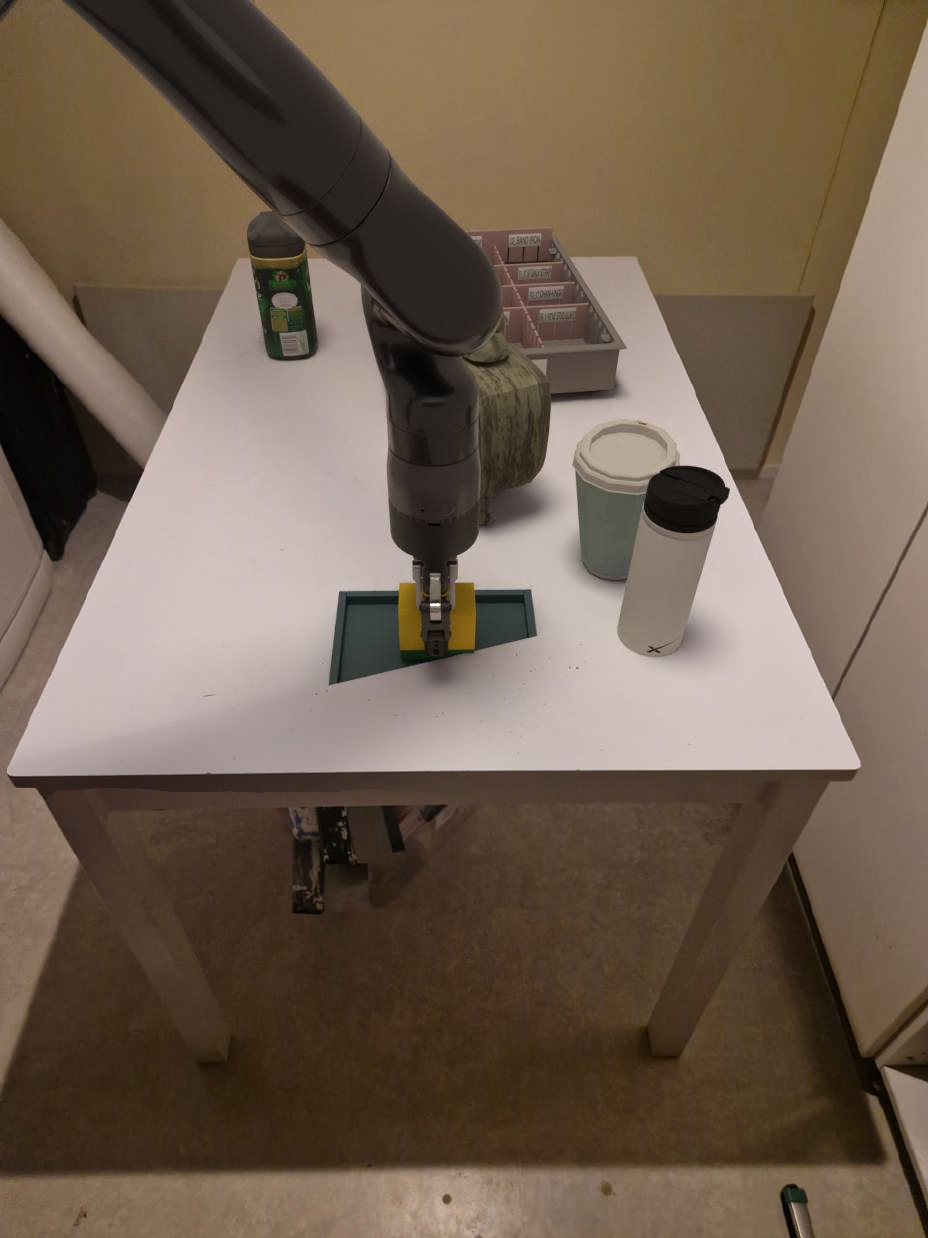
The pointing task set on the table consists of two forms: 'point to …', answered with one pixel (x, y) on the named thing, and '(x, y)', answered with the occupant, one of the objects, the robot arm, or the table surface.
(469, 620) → the sponge
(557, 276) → the organizer tray
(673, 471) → the travel mug
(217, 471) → the table surface
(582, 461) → the disposable coffee cup
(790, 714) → the table surface
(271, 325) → the coffee jar
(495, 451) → the tabletop clock
